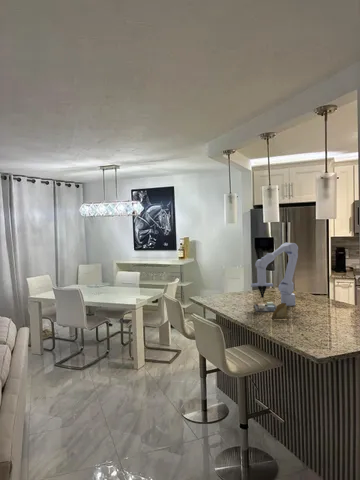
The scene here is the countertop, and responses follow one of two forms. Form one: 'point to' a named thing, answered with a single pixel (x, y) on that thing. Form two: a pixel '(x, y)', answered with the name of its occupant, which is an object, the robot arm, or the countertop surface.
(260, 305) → the key cream
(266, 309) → the dark grey tray
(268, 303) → the key sage
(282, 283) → the robot arm
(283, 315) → the rock
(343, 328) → the countertop surface
